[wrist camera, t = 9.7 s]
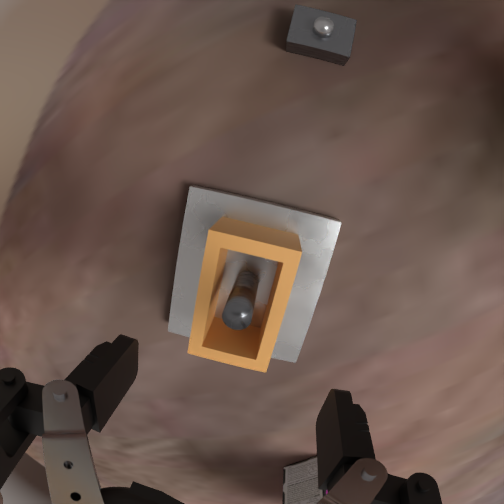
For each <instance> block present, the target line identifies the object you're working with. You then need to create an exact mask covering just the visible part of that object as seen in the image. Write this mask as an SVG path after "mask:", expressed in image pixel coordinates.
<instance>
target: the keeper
mask: <svg viewBox="0 0 504 504" xmlns="http://www.w3.org/2000/svg"><path fill="white" fill-rule="evenodd" d="M221 217H227V218H231V219H235V220H239V221H244V222H248V223H252V224H256V225H260V226H265V227H269V228H273V229H277V230H281V231H285V232H289V233H293V234H297V235H299V239H300V244H301V249H302V255H301V258H300V262H299V265H298V269H297V273H296V276H295V279H294V283H293V286H292V290H291V293H290V297H289V300H288V303H287V307H286V310H285V313H284V317H283V320H282V323H281V326H280V330H279V333H278V336H277V339H276V343H275V346H274V349H273V352H272V355H271V358H275V359H280V360H285V361H290V362H295V363H296V361H297V358H298V355H299V353H300V350H301V347H302V344H303V342H304V339H305V336H306V333H307V330H308V327H309V325H310V322H311V319H312V316H313V313H314V310H315V307H316V304H317V301H318V298H319V295H320V292H321V289H322V286H323V283H324V279H325V276H326V273H327V270H328V267H329V263H330V260H331V257H332V254H333V250H334V247H335V243H336V240H337V237H338V233H339V230H340V226H341V221H340V220H339V219H336V218H332V217H328V216H324V215H321V214H317V213H313V212H309V211H305V210H301V209H297V208H293V207H289V206H285V205H281V204H277V203H273V202H269V201H264V200H260V199H256V198H252V197H247V196H243V195H239V194H234V193H230V192H225V191H221V190H216V189H212V188H207V187H202V186H197V185H193V186H190V188H189V193H188V199H187V204H186V210H185V215H184V221H183V227H182V233H181V239H180V245H179V251H178V258H177V265H176V272H175V279H174V286H173V293H172V301H171V309H170V317H169V326H168V331H169V332H173V333H176V334H180V335H183V336H187V337H190V334H191V328H192V321H193V315H194V309H195V303H196V297H197V291H198V285H199V279H200V274H201V268H202V263H203V257H204V252H205V246H206V241H207V235H208V230H209V229H210V228H211V227H212V226H213V225H214V224H215V223H216V222H217V221H218V220H219V219H220V218H221ZM277 266H278V261H274V260H270V259H266V258H262V257H258V256H254V255H249V254H245V253H241V252H237V251H233V250H229V249H228V252H227V257H226V262H225V267H224V272H223V276H222V281H221V286H220V291H219V296H218V301H217V306H216V311H215V316H214V317H218V318H222V319H223V322H224V323H225V325H226V326H228V327H229V328H231V329H234V330H242V329H245V328H247V327H248V326H249V325H250V326H254V327H258V328H261V325H262V321H263V318H264V314H265V310H266V307H267V303H268V299H269V296H270V292H271V288H272V285H273V281H274V277H275V273H276V270H277Z"/></svg>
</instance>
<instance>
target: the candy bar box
mask: <svg viewBox="0 0 504 504" xmlns="http://www.w3.org/2000/svg"><path fill="white" fill-rule="evenodd" d="M327 493H328V491H327V490H319V489H318V466H317V456H316V457H312V458H310V459H307V460H305V461H302V462H299V463H296V464H292V465H289V466H286V467H284V474H283V504H317V503H318V502H319V501H320V500H321V499H322V498H323V497H324V496H325V495H326V494H327Z"/></svg>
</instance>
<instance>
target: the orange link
mask: <svg viewBox="0 0 504 504" xmlns="http://www.w3.org/2000/svg"><path fill="white" fill-rule="evenodd" d="M228 249H229V250H233V251H237V252H241V253H245V254H249V255H254V256H258V257H262V258H266V259H270V260H274V261H278V266H277V270H276V273H275V277H274V281H273V285H272V288H271V292H270V296H269V299H268V303H267V307H266V310H265V314H264V318H263V321H262V325H261V328H258V327H254V326H250V325H249V326H248V327H247V328H245V329H242V330H234V329H231V328H229V327H228V326H226V325H225V323H224V322H223V319H222V318H218V317H214V316H215V311H216V306H217V301H218V296H219V291H220V286H221V281H222V276H223V272H224V267H225V262H226V257H227V252H228ZM301 255H302V249H301V244H300V239H299V235H297V234H293V233H289V232H285V231H281V230H277V229H273V228H269V227H265V226H260V225H256V224H252V223H248V222H244V221H239V220H235V219H231V218H227V217H221V218H220V219H219V220H218V221H217V222H216V223H215V224H214V225H213V226H212V227H211V228H210V229H209V230H208V235H207V241H206V246H205V252H204V257H203V263H202V268H201V274H200V279H199V285H198V291H197V297H196V303H195V309H194V315H193V321H192V328H191V334H190V341H189V347H188V353H189V354H193V355H196V356H200V357H204V358H207V359H211V360H215V361H219V362H223V363H227V364H231V365H235V366H239V367H243V368H248V369H252V370H256V371H261V372H266V371H267V368H268V364H269V361H270V358H271V355H272V352H273V349H274V346H275V343H276V339H277V336H278V333H279V330H280V326H281V323H282V320H283V317H284V313H285V310H286V307H287V303H288V300H289V297H290V293H291V290H292V286H293V283H294V279H295V276H296V273H297V269H298V265H299V262H300V258H301Z"/></svg>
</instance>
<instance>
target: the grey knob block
mask: <svg viewBox="0 0 504 504" xmlns="http://www.w3.org/2000/svg"><path fill="white" fill-rule="evenodd" d="M356 21H357V20H355V19H352V18H348V17H345V16H341V15H338V14H334V13H330V12H326V11H322V10H318V9H314V8H310V7H305V6H300V5H295V9H294V13H293V17H292V21H291V25H290V29H289V33H288V37H287V41H286V52H291V53H296V54H300V55H304V56H309V57H313V58H317V59H321V60H324V61H328V62H332V63H335V64H339V65H342V66H344V65H345V64H346V62H347V61H348V59H349V58H350V54H351V49H352V43H353V38H354V33H355V27H356Z"/></svg>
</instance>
